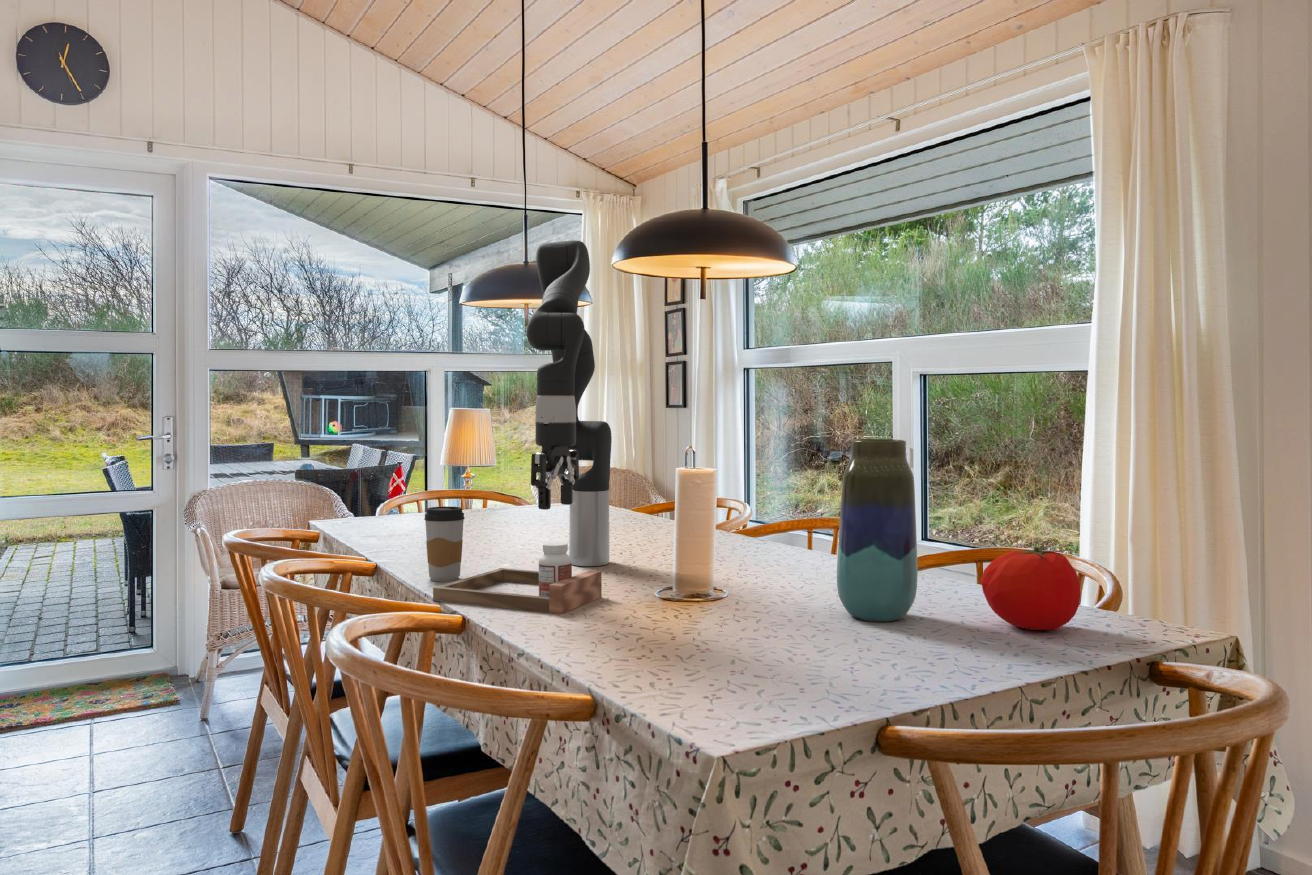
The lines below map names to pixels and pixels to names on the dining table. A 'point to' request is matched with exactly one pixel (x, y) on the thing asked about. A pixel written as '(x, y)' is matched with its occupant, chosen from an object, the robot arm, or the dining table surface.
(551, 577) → the pill bottle
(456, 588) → the wooden tray frame
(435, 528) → the coffee cup
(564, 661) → the dining table surface
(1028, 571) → the tomato
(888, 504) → the vase
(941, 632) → the dining table surface
